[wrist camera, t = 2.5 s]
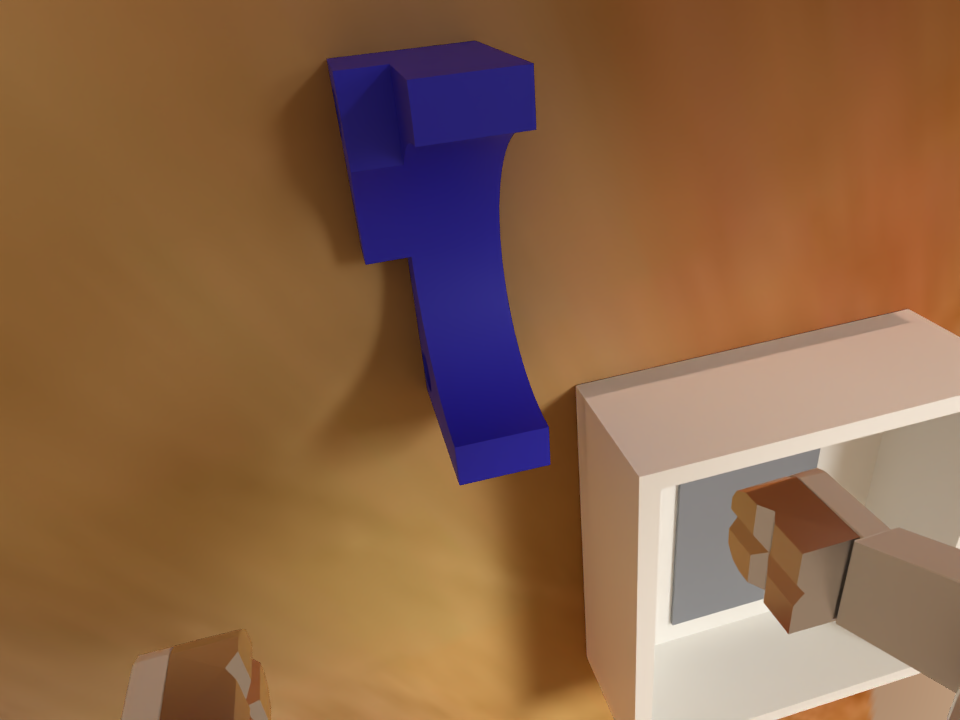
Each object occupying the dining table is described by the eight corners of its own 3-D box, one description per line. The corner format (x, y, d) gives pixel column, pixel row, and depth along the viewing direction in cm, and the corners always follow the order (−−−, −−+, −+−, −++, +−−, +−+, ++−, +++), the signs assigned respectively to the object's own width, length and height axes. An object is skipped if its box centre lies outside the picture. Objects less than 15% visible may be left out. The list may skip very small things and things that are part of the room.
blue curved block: (326, 58, 20) (339, 88, 15) (474, 40, 21) (533, 63, 16) (388, 395, 27) (412, 496, 22) (501, 372, 27) (550, 464, 22)
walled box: (908, 309, 31) (1031, 377, 26) (842, 581, 40) (924, 671, 35) (575, 385, 28) (639, 477, 23) (586, 657, 37) (634, 765, 32)
